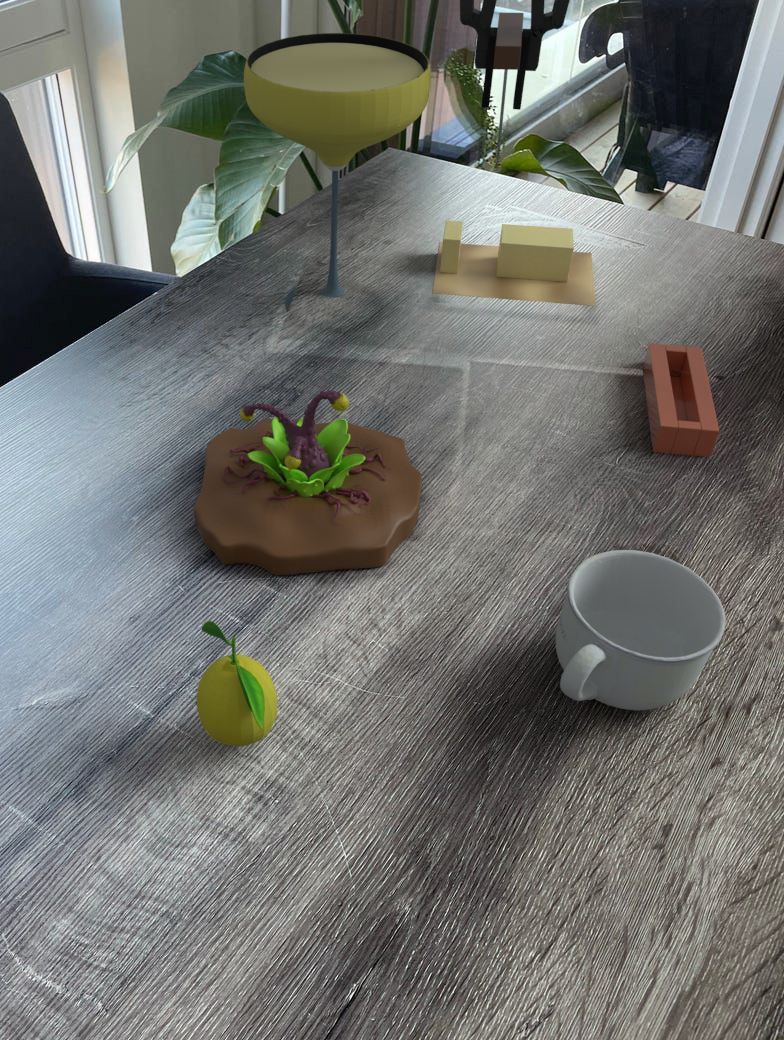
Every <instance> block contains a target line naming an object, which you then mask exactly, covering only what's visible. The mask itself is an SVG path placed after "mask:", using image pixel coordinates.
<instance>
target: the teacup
mask: <svg viewBox="0 0 784 1040" xmlns="http://www.w3.org/2000/svg"><path fill="white" fill-rule="evenodd" d="M726 619H727V618H726V612H725V608H724V606H723V604H722V601H721V599H720V598H719V596H718V595H717V594H716V592H715V591H714V589H713V588H712V587H711V586H710V585H709V584H708V583H707V582H706V580H704V579H703V578H702V577H701V576H699V575H698V574H697V573H696V572H695V571H694V570H692V569H691V568H689V567H688V566H686V565H683V564H681V563H679V562H678V561H675V560H673V559H671V558H670V557H666V556H663V555H660V554H657V553H653V552H648V551H643V550H635V549H619V550H618V549H616V550H609V551H603V552H600V553H597V554H594V555H592V556H590V557H588V558H586V559H585V560H583V561H581V562H580V563H579V564H578V566H576V567H575V570H573V572H572V574H571V575H570V577H569V580H568V583H567V590H566V595H565V598H564V601H563V604H562V607H561V611H560V614H559V619H558V620H557V621H558V622H557V626H556V632H555V651H556V656H557V658H558V662H559V664H560V667H561V668H562V670H563V673H562V675H561V678H560V682H559V688H560V691H562V693H563V694H564V695H565V696H567V697H568V698H570V699H572V700H573V701H576V702H582V701H583V702H584V701H592V700H596V701H597V702H601V703H602V704H604V705H607V706H610V707H614V708H617V709H621V710H629V711H649V710H654V709H659V708H663V707H665V706H667V705H669V704H672V703H674V702H675V701H677V700H678V699H680V698H681V697H682V696H684V695H685V694H686V693H687V692H688V691H689V690H690V688H691V687H692V686H693V685H694V683H695V682H696V680H697V679H698V677H699V675H700V674H701V672H702V671H703V669H704V667H705V666H706V665H707V662H708V660H709V658H710V657H711V654H712V653H713V651H714V649H715V648H716V647H717V645H719V643H720V641H721V640H722V638H723V636H724V633H725V630H726V621H727V620H726Z"/></svg>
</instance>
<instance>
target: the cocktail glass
mask: <svg viewBox="0 0 784 1040" xmlns="http://www.w3.org/2000/svg"><path fill="white" fill-rule="evenodd" d="M431 67H432V66H431V63H430V60H429V58H428V56H426V54H425V53H424V52H422V51H421V50H420V49H418V48H416V47H415V46H412V45H410V44H409V43H405V42H403V41H401V40H400V41H399V40H395V39H392V38H388V37H382V36H378V35H370V34H362V33H361V34H360V33H351V32H350V33H347V32H324V33H309V34H301V35H294V36H289V37H284V38H281V39H276V40H273V41H270V42H267V43H265V44H263V45H261V46H259V47H256V49H254V50H252V51H251V52H250V53H249V55H248V56H247V58H246V61H245V64H244V68H243V88H244V95H245V99H246V103H247V106H248V108H249V109H250V111H251V113H252V114H253V115H254V116H255V118H256V119H257V120H258V121H259V122H261V123H262V124H263V125H264V126H265V127H267V129H269V130H271V131H272V132H274V133H275V134H277V135H279V136H281V137H283V138H284V139H286V140H289V141H291V142H293V143H296V144H298V145H301V146H303V147H305V148H308V149H310V150H311V151H312V152H314V153H315V154H316V155H317V157H318V158H319V160H320V162H321V163H322V164H323V166H324V167H325V168H326V169H327V170H330V171H331V217H330V218H331V220H330V246H329V247H330V249H329V267H328V275H327V281H326V285H325V287H324V288H323V289H321V294H322V296H323V297H326V298H330V299H332V298H334V299H335V298H340V297H342V296H343V295H344V294H345V290H344V289H342V288H341V287H340V281H339V275H338V199H339V197H338V196H339V195H338V194H339V171H341V170H343V169H345V167H347V165H348V164H350V162H351V160H352V159H353V157H355V155H356V154H357V153H358V152H360V151H361V150H363V149H366V148H368V147H370V146H374V145H376V144H378V143H381V142H384V141H387V140H388V139H390V138H392V137H395V136H396V135H398V134H399V133H401V132H404V130H406V129H407V128H408V127H410V126H411V125H412V124H413V123H414V122H416V120H417V119H419V117H420V116H421V115H422V114H423V112H424V111H425V109H426V107H427V105H428V102H429V98H430V92H431V88H432V87H431V85H432V68H431ZM296 290H297V286H296V287H294V288H292V289H291V290H290V291H289V292H288V293H287V294H286V296H285V298H284V307H285V309H286V312H289V311H290V307H291V304H292V302H293V299H294V295H295V293H296Z"/></svg>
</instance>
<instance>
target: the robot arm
mask: <svg viewBox="0 0 784 1040" xmlns="http://www.w3.org/2000/svg"><path fill="white" fill-rule="evenodd" d="M530 1H531V2H530V3H531V4H530V28H523V30H522V45H521V56H520V65H519V70H516V78H515V85H514V86H515V87H514V92H513V93H514V94H513V101H512V102H513V103H512V110H518V111H520V110H522V109H521V108H522V101H523V93H524V87H525V86H524V85H525V80H526V79H525V78H526V72H536V71H537V69H538V67H539V62H540V56H541V48H542V42H543V37H544V35H545V34H546V33H548V32H549V31H552V30H559V29H562V28H563V26H564V23H565V20H566V16H567V12H568V9H569V8H568V7H569V4H570V0H554V1H553V4H552V9H551V11H549V12H545V0H530ZM497 2H498V0H483V1H482V5H481V9H477V8H475V0H459V21H460V23H461V24H462V25H463V26H468V27H471V28H472V29H474V30H475V32H476V43H475V44H476V45H475V53H474V67H475V69H479V70H480V69H481V70H485V71H484V80H483V89H482V98H481V107H480V108H483V109H489V108H490V101H491V92H492V85H493V77H494V75H493V74H494V69H493V67H494V56H495V45H496V37H497V29H498V26H497V27H495V26H492V24H493V19H494V14H495V11H496V5H497Z"/></svg>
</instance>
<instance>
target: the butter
mask: <svg viewBox="0 0 784 1040" xmlns="http://www.w3.org/2000/svg"><path fill="white" fill-rule="evenodd" d="M498 246H499V251H498V259H497V275H496V277H506V278H519V279H532V280H546V281H559V282H567V281H568V276H569V271H570V266H571V260H572V255H573V252H574V250H575V244H574V229H573V228H566V227H553V226H537V225H523V224H507V223H502V224H501V229H500V237H499V245H498Z"/></svg>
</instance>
